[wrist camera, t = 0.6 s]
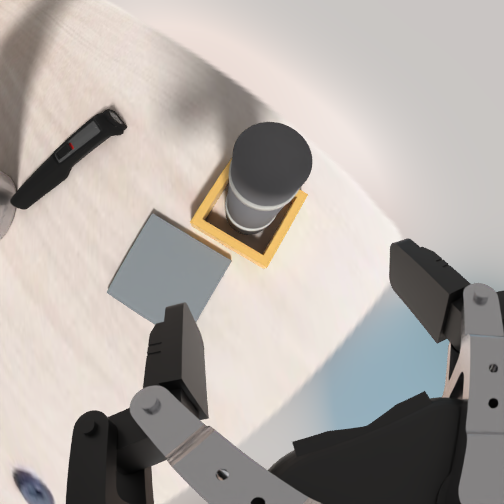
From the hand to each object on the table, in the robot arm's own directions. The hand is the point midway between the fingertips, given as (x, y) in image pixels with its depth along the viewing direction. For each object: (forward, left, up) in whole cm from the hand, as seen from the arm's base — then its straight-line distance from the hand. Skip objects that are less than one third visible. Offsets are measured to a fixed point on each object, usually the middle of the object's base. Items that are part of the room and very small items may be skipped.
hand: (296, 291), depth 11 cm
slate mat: (-7, -3, -19) cm, 20 cm away
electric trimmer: (-24, +1, -19) cm, 31 cm away
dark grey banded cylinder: (-4, +6, -19) cm, 20 cm away
